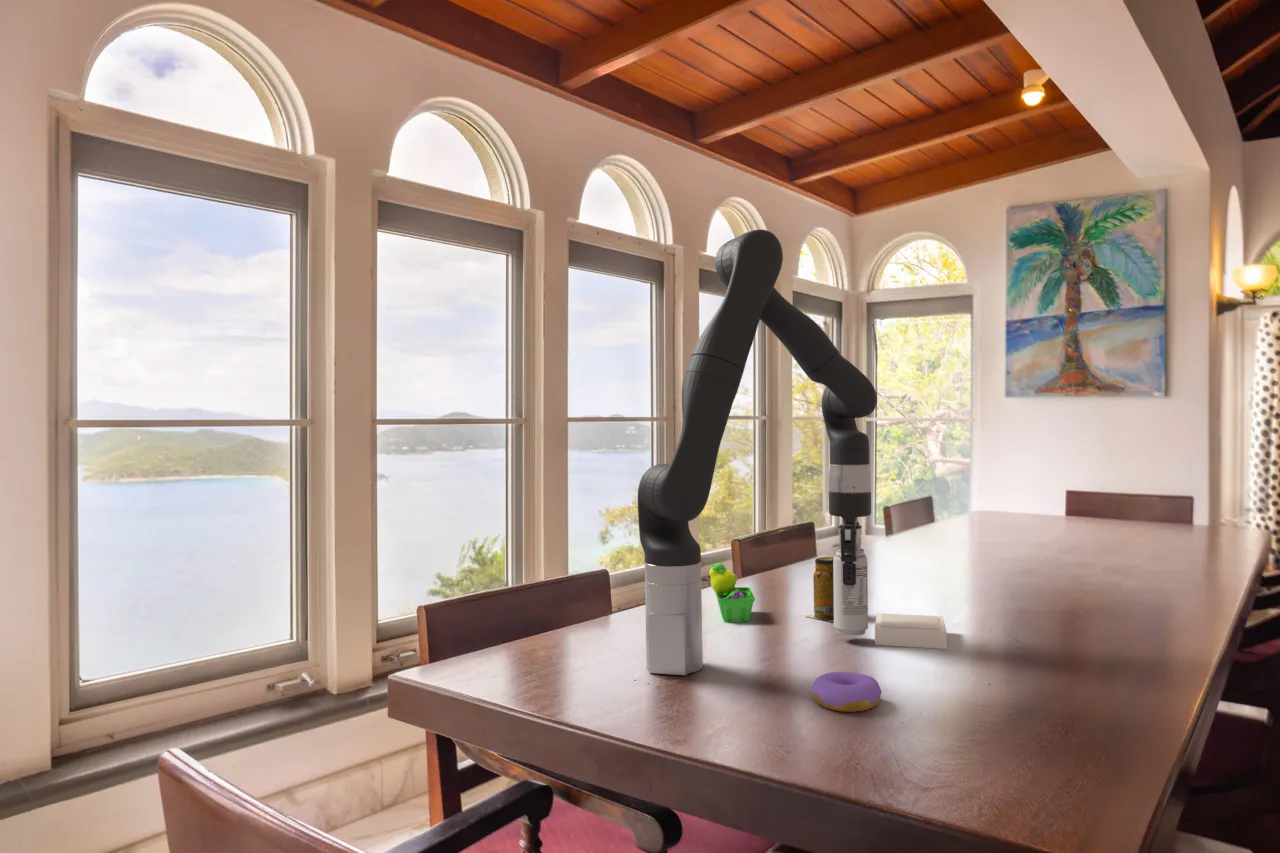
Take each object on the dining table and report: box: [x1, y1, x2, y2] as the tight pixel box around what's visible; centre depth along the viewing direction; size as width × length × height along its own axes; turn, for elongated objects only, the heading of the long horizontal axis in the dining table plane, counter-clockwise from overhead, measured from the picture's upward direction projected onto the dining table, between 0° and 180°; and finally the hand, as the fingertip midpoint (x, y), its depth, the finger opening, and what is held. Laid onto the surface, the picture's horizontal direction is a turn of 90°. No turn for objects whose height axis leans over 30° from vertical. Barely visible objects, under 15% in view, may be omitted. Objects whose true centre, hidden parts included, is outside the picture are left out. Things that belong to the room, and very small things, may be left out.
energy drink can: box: [833, 547, 869, 636], centre depth 151 cm, size 6×6×15 cm
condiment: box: [805, 556, 834, 623], centre depth 170 cm, size 7×8×12 cm
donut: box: [811, 671, 882, 713], centre depth 117 cm, size 10×9×5 cm
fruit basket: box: [708, 562, 756, 623], centre depth 172 cm, size 11×9×11 cm
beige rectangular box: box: [874, 612, 948, 650], centre depth 152 cm, size 12×12×3 cm
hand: (850, 581), depth 151 cm, fingers closed on energy drink can, 6 cm apart
